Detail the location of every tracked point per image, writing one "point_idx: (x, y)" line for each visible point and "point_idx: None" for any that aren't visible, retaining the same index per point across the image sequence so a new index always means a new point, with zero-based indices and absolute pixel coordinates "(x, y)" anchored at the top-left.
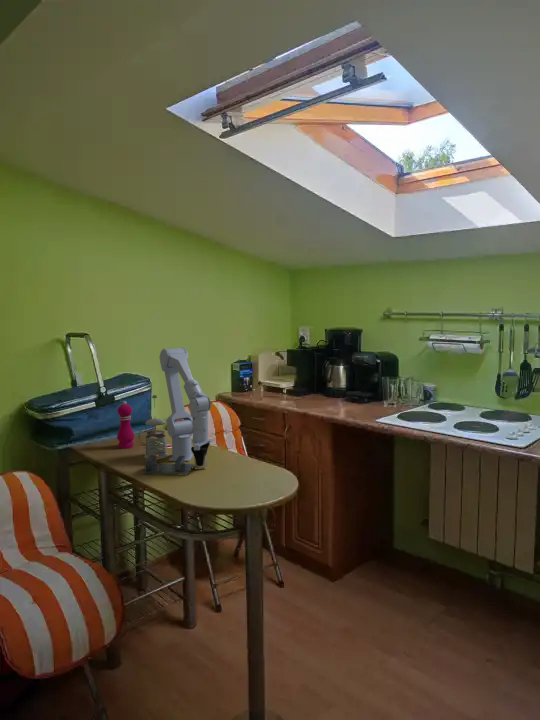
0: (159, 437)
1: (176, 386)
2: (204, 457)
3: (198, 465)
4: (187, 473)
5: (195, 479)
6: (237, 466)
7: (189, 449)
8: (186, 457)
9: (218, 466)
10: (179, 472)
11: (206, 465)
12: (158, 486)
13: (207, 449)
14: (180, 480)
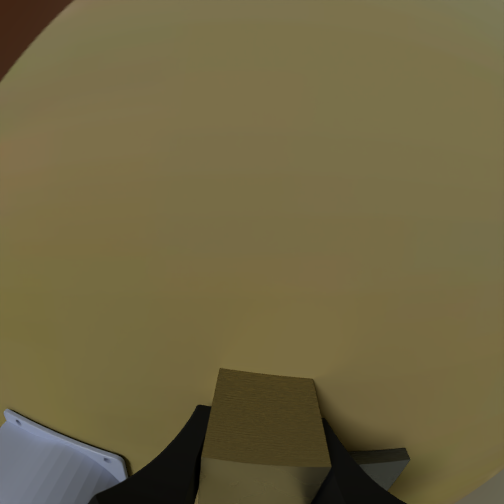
0: None
1: None
2: (328, 460)
3: None
4: (407, 456)
5: (485, 395)
6: (258, 75)
7: (56, 487)
8: (99, 473)
9: (240, 272)
10: (388, 488)
11: (257, 383)
12: (477, 483)
13: (147, 473)
14: (462, 450)
